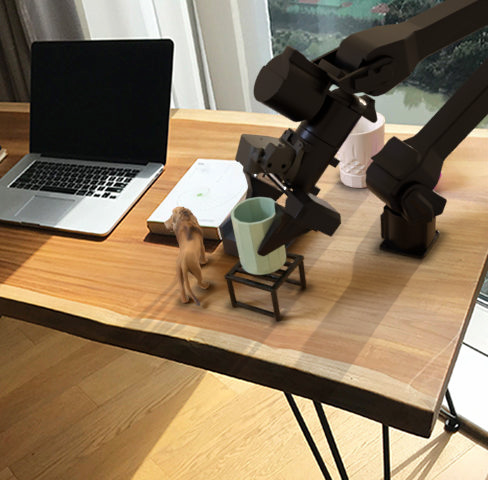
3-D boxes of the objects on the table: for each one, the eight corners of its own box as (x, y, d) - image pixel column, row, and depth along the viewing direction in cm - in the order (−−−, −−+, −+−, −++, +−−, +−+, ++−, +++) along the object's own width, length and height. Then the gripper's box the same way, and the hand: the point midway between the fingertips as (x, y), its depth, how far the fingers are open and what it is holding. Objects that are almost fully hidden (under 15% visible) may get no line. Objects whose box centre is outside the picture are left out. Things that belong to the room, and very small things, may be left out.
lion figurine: (173, 254, 107) (159, 205, 101) (206, 246, 106) (194, 197, 101) (182, 313, 95) (168, 262, 90) (219, 304, 95) (207, 253, 89)
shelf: (301, 233, 104) (297, 205, 101) (272, 265, 99) (267, 238, 96) (254, 222, 109) (249, 196, 106) (224, 253, 104) (218, 226, 101)
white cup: (387, 188, 108) (385, 131, 102) (336, 192, 110) (332, 136, 104) (385, 163, 114) (384, 107, 108) (337, 167, 116) (333, 113, 110)
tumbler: (284, 243, 92) (276, 193, 87) (288, 270, 87) (280, 219, 82) (240, 250, 93) (230, 201, 88) (242, 277, 88) (231, 227, 83)
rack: (307, 286, 94) (304, 255, 91) (279, 322, 90) (273, 290, 86) (260, 273, 98) (254, 243, 95) (230, 306, 94) (223, 276, 91)
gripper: (239, 83, 85) (177, 188, 91) (306, 138, 71) (227, 259, 76) (303, 120, 91) (241, 217, 96) (377, 178, 77) (298, 288, 82)
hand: (250, 242), depth 88 cm, fingers closed on tumbler, 6 cm apart
